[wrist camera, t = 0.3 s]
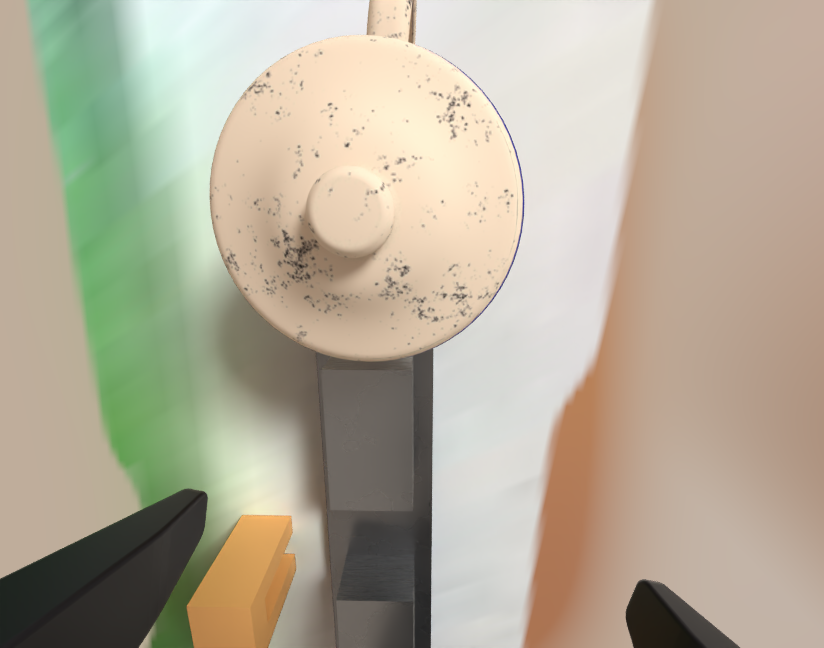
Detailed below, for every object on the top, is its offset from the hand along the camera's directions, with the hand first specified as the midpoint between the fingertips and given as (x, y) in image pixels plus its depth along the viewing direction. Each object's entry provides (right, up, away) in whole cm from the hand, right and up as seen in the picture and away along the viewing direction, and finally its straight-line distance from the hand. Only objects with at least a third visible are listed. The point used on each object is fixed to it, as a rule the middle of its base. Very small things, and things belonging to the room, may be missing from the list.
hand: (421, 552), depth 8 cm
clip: (-9, -9, +17) cm, 21 cm away
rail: (-2, -6, +16) cm, 17 cm away
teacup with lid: (-1, +11, +12) cm, 16 cm away
